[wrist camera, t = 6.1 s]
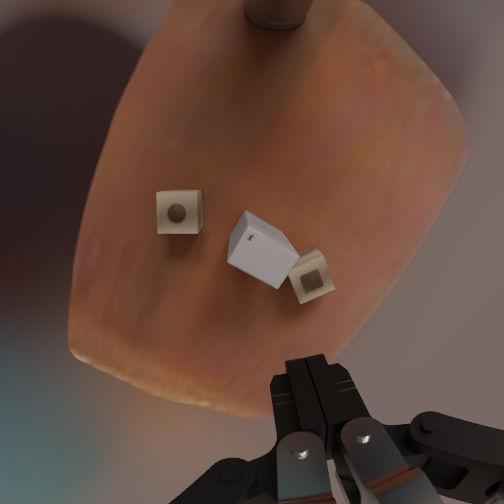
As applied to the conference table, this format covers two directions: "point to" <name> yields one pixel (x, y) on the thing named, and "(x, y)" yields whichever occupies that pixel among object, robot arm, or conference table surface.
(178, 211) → the marked block
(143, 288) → the conference table surface
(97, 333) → the conference table surface
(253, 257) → the skincare box
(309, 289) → the marked block
